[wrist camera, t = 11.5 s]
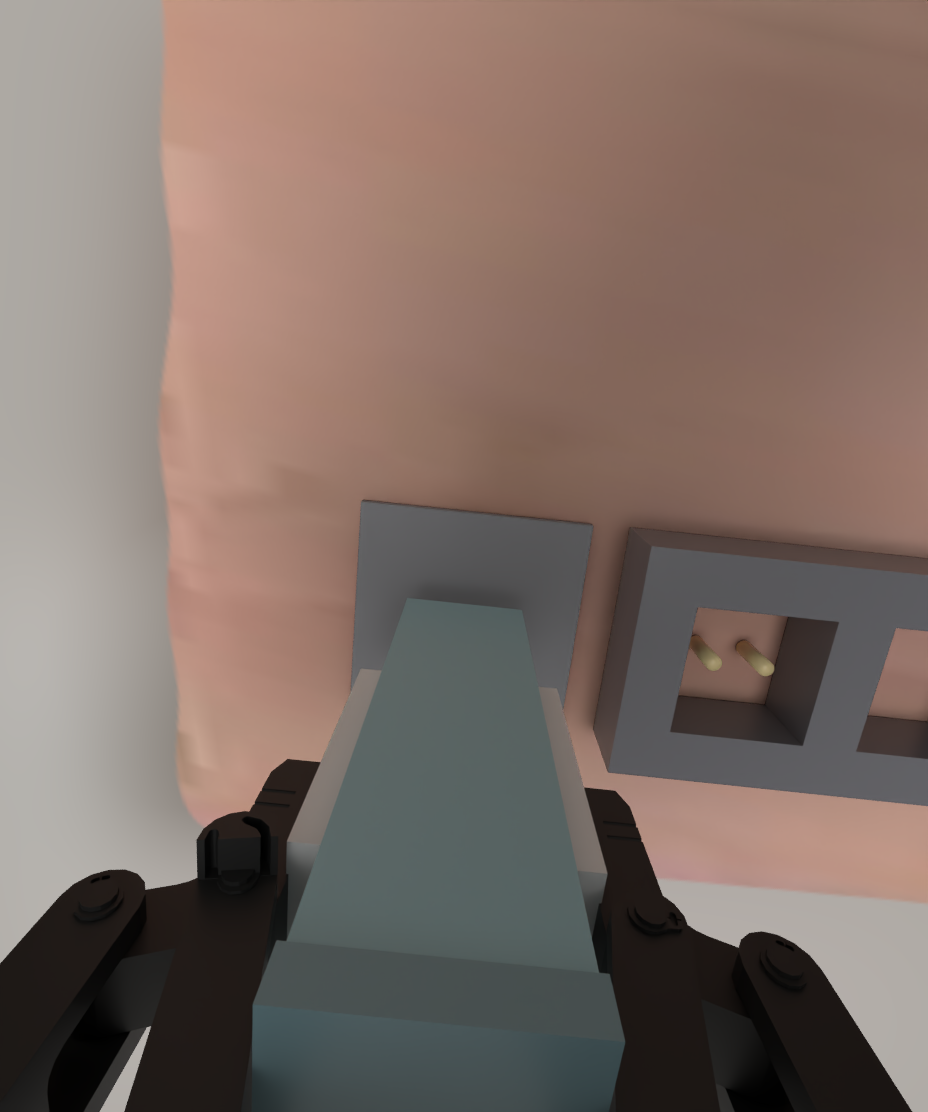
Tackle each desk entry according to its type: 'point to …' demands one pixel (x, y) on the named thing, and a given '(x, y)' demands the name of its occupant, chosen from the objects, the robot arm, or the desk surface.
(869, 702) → the header
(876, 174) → the desk surface
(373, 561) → the pad
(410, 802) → the plug
